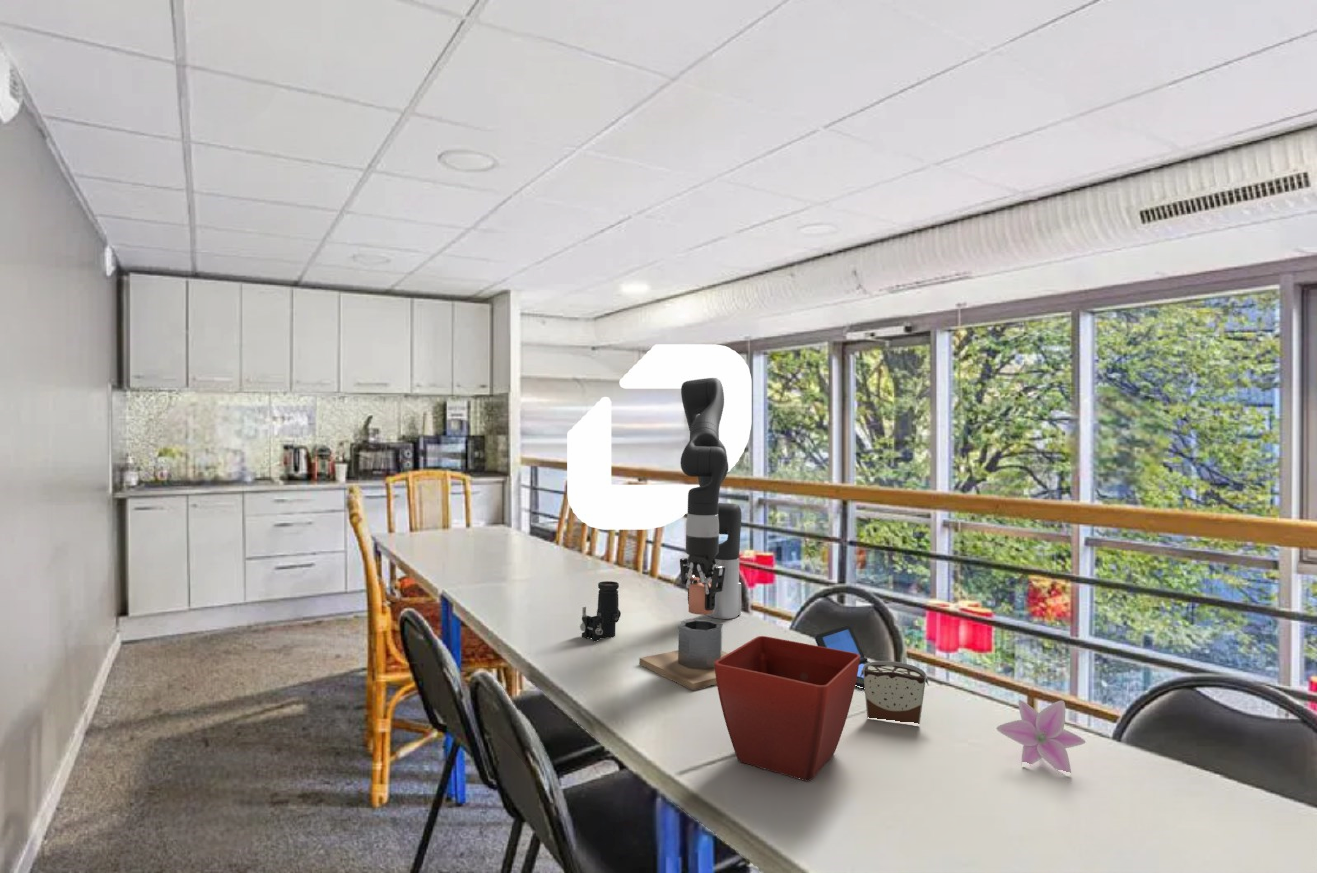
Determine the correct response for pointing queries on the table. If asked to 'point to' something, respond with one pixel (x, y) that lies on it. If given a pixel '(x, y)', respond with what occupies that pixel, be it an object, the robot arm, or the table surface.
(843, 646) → the handheld game console
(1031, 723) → the lily
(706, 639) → the grey octagonal cup
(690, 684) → the walnut board
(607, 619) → the scope
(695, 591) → the salmon pink rounded cylinder
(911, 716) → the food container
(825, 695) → the plant pot
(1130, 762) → the table surface
